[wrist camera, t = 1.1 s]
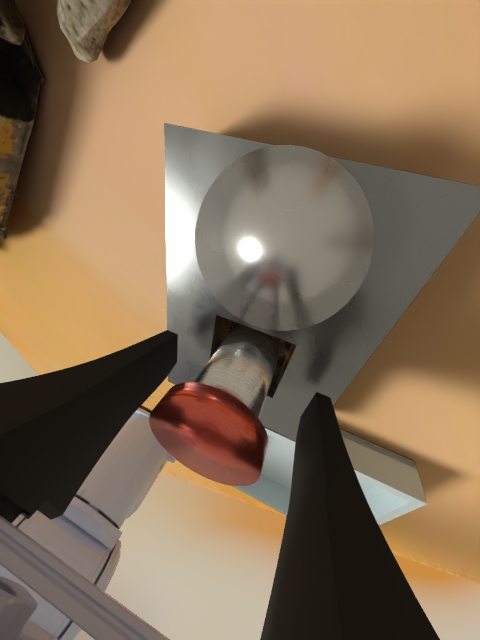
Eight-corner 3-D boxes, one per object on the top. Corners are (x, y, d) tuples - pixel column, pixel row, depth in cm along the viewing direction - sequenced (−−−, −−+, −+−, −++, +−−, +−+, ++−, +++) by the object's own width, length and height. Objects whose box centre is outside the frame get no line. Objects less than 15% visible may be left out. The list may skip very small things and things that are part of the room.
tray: (338, 511, 22) (338, 543, 20) (231, 456, 24) (222, 480, 22) (414, 461, 15) (427, 504, 13) (255, 391, 17) (244, 418, 15)
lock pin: (283, 365, 15) (245, 499, 8) (226, 342, 16) (152, 448, 9) (306, 313, 12) (277, 449, 6) (236, 289, 13) (145, 385, 7)
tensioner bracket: (308, 405, 16) (301, 460, 13) (190, 355, 18) (159, 391, 15) (447, 189, 8) (524, 190, 5) (205, 139, 10) (143, 114, 7)
